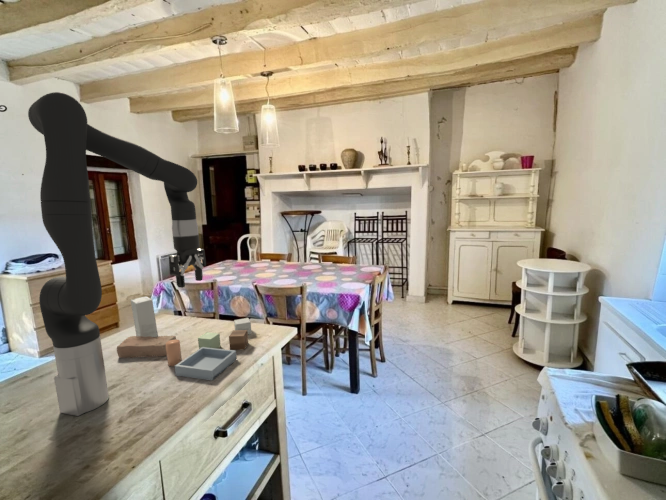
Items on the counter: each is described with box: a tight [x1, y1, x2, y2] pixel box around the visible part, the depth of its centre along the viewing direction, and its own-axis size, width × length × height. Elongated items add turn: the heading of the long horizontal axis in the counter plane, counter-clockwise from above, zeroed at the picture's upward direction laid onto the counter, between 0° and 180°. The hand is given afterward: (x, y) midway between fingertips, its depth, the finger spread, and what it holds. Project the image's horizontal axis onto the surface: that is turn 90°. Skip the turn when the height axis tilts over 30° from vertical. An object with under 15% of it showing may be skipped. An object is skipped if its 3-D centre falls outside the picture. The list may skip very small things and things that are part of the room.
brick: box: [116, 335, 177, 359], centre depth 112 cm, size 16×8×5 cm, turn 93°
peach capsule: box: [166, 338, 183, 367], centre depth 103 cm, size 4×4×7 cm
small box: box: [233, 317, 252, 335], centre depth 126 cm, size 6×6×5 cm
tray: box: [174, 347, 237, 381], centre depth 100 cm, size 13×13×3 cm
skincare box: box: [130, 296, 159, 337], centre depth 124 cm, size 8×6×15 cm
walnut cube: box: [228, 329, 249, 351], centre depth 114 cm, size 5×5×5 cm
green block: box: [197, 331, 221, 350], centre depth 113 cm, size 5×5×5 cm
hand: (190, 283), depth 106 cm, fingers open, 8 cm apart
